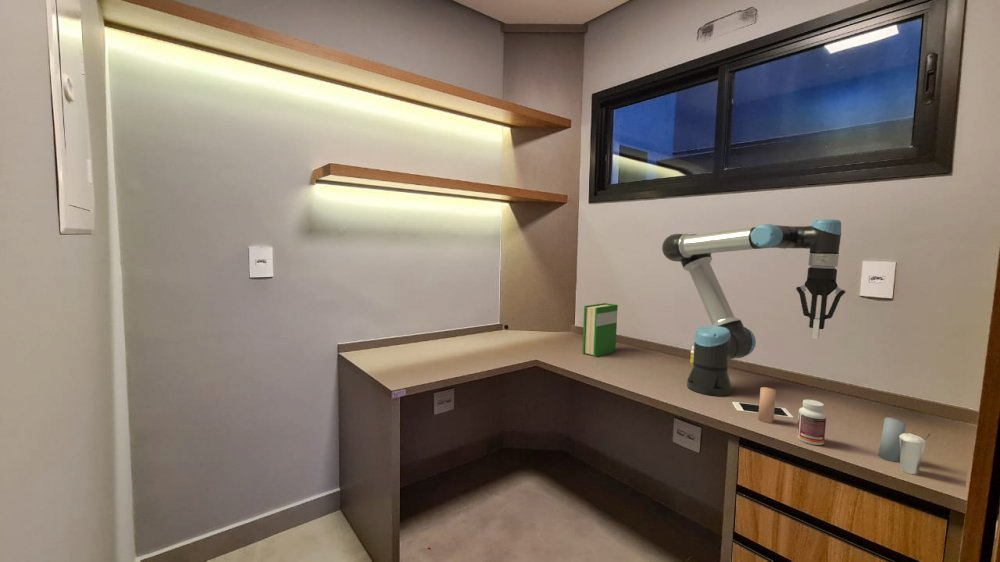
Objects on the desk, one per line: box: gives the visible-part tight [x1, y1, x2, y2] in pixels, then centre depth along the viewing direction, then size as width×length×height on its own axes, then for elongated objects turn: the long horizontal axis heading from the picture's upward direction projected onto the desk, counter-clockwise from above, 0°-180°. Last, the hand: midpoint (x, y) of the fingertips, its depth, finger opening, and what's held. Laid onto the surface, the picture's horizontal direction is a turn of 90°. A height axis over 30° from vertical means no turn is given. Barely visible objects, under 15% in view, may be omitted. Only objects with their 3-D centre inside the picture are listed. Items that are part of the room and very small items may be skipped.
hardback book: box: [581, 302, 619, 358], centre depth 204 cm, size 18×7×24 cm, turn 132°
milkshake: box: [899, 432, 931, 475], centre depth 99 cm, size 4×5×10 cm
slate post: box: [878, 416, 907, 463], centre depth 105 cm, size 4×4×10 cm
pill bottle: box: [796, 399, 827, 446], centre depth 114 cm, size 6×6×11 cm
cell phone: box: [731, 401, 794, 419], centre depth 136 cm, size 8×16×1 cm, turn 72°
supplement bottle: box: [689, 345, 694, 367], centre depth 186 cm, size 5×5×8 cm
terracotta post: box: [757, 386, 777, 424], centre depth 127 cm, size 4×4×10 cm
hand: (815, 338), depth 136 cm, fingers closed
